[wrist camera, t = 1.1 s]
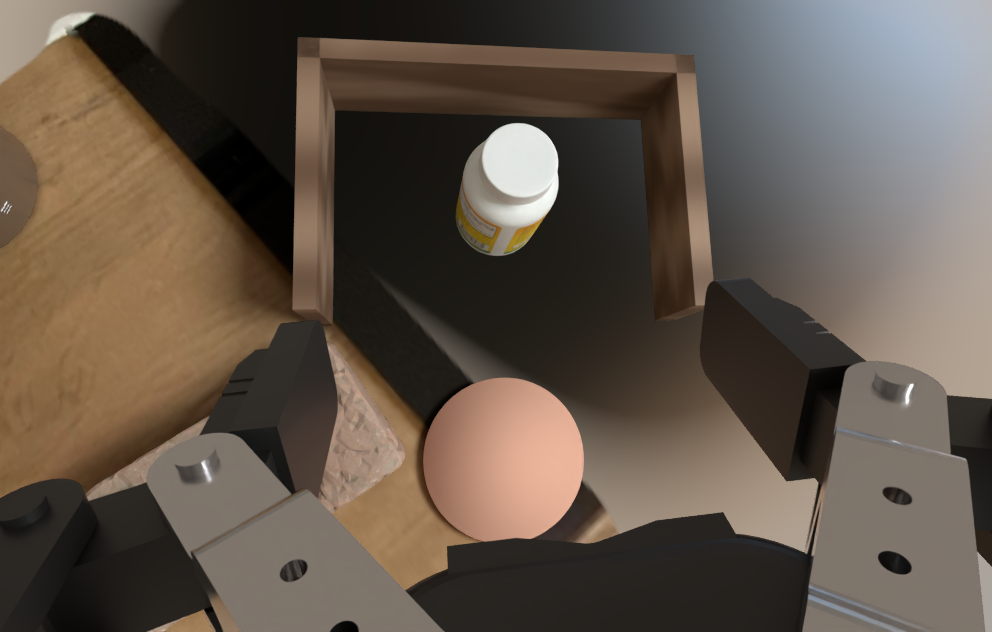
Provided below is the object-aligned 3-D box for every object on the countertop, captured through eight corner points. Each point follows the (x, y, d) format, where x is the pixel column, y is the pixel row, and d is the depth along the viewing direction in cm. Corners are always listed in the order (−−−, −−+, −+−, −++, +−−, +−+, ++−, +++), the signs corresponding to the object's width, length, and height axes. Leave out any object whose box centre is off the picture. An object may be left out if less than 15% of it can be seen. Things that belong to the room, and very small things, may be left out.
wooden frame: (316, 92, 39) (297, 37, 34) (656, 104, 42) (693, 55, 37) (312, 325, 37) (292, 309, 31) (672, 320, 40) (715, 305, 34)
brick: (166, 627, 34) (126, 661, 29) (88, 502, 34) (37, 517, 30) (411, 454, 37) (410, 460, 33) (337, 342, 38) (326, 333, 33)
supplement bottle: (453, 255, 39) (464, 206, 30) (456, 176, 40) (468, 105, 30) (535, 259, 40) (570, 213, 30) (536, 182, 40) (571, 114, 31)
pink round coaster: (388, 463, 36) (388, 463, 36) (500, 345, 38) (501, 344, 38) (507, 577, 36) (508, 580, 36) (613, 453, 38) (615, 454, 38)
